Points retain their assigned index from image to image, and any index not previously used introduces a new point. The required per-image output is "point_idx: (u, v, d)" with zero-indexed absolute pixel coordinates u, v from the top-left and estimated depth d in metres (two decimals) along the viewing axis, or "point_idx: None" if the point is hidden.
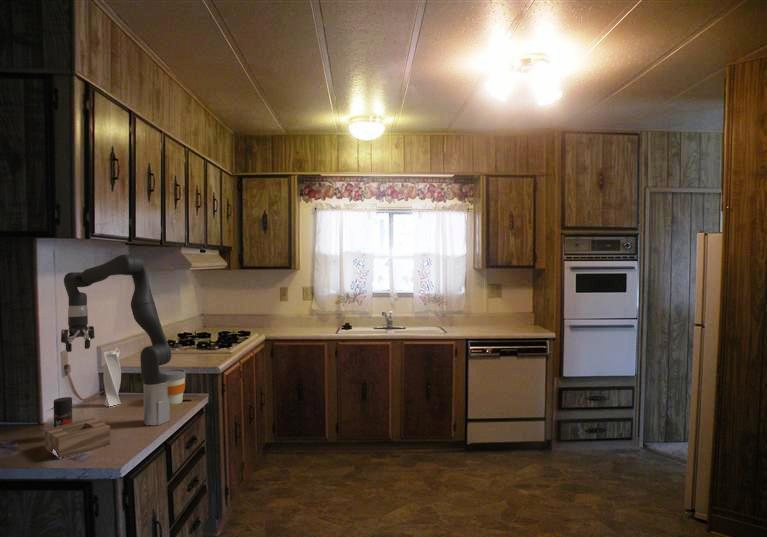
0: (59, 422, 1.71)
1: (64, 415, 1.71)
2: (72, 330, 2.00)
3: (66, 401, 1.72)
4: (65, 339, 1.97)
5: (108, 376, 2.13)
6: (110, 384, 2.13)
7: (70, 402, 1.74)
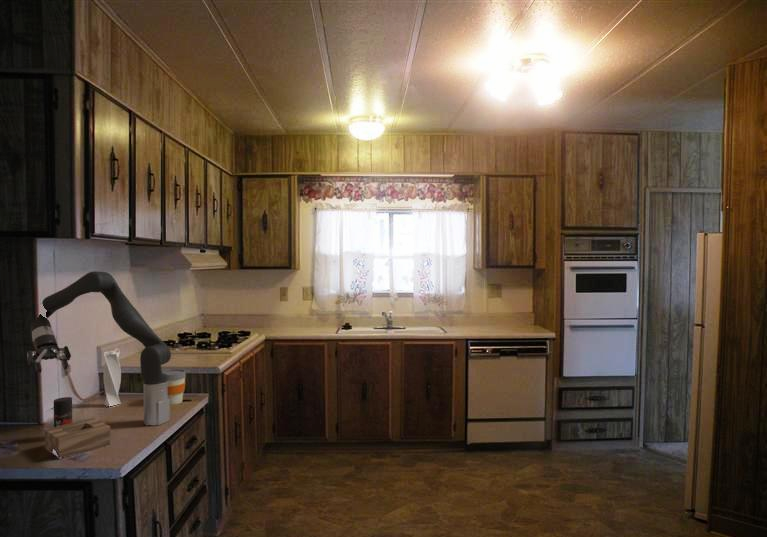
0: (59, 422, 1.71)
1: (64, 415, 1.71)
2: (38, 350, 1.82)
3: (66, 401, 1.72)
4: (30, 359, 1.78)
5: (108, 376, 2.13)
6: (110, 384, 2.13)
7: (70, 402, 1.74)
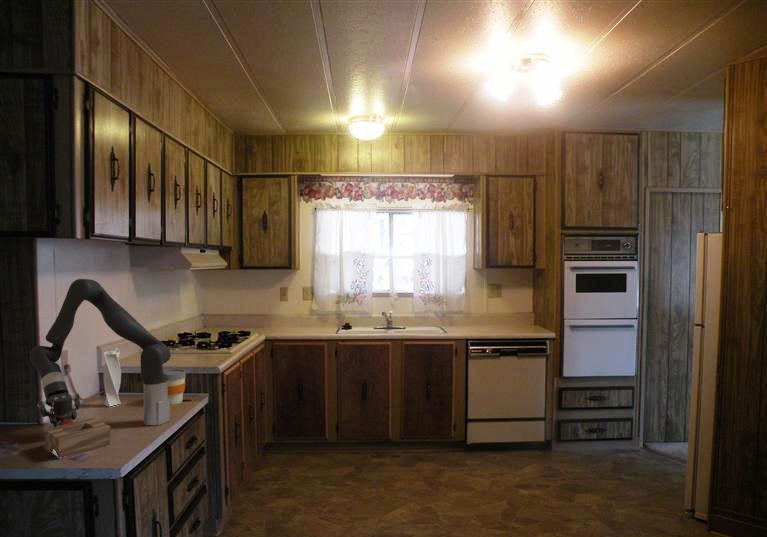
0: (59, 422, 1.71)
1: (64, 414, 1.71)
2: (48, 400, 1.74)
3: (66, 401, 1.72)
4: (43, 410, 1.70)
5: (108, 376, 2.13)
6: (110, 384, 2.13)
7: (70, 402, 1.74)
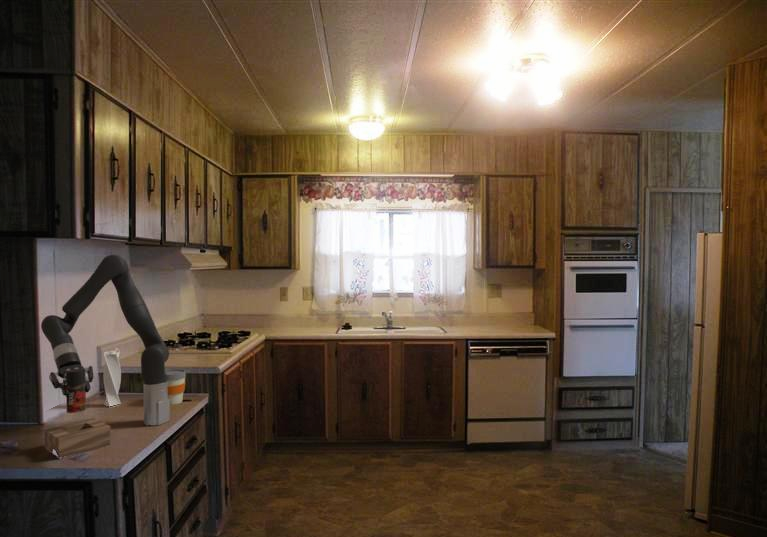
0: (72, 394, 1.62)
1: (77, 386, 1.62)
2: (60, 371, 1.65)
3: (79, 372, 1.63)
4: (55, 381, 1.61)
5: (108, 376, 2.13)
6: (110, 384, 2.13)
7: (83, 373, 1.65)
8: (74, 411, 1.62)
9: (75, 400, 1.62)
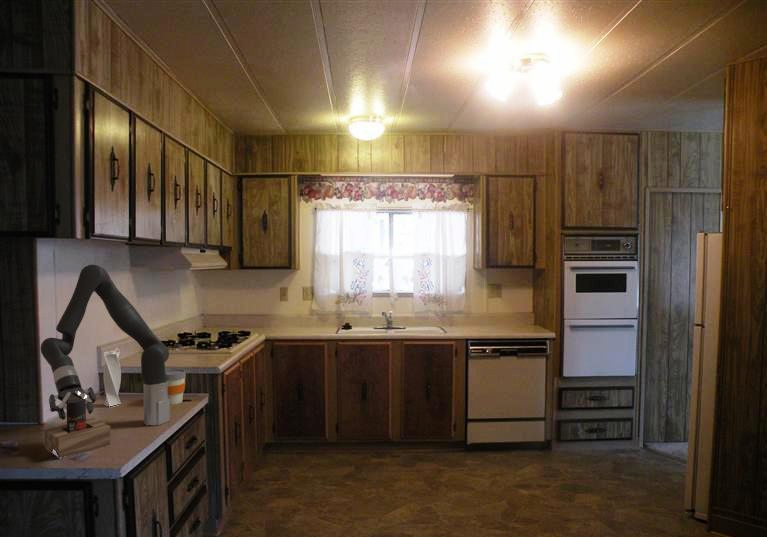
0: (73, 425, 1.61)
1: (78, 417, 1.62)
2: (61, 394, 1.64)
3: (80, 402, 1.62)
4: (52, 404, 1.60)
5: (108, 376, 2.13)
6: (110, 384, 2.13)
7: (84, 403, 1.64)
8: None
9: None
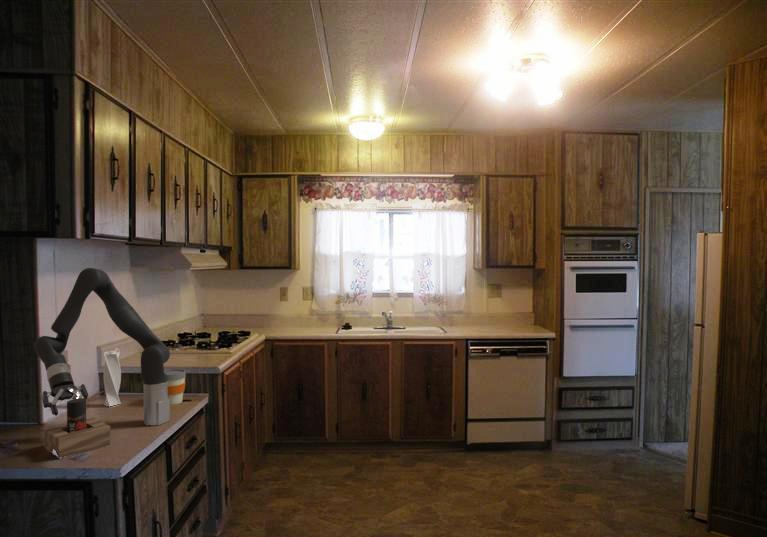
0: (73, 424, 1.61)
1: (78, 417, 1.62)
2: (53, 391, 1.69)
3: (80, 402, 1.62)
4: (45, 401, 1.65)
5: (108, 376, 2.13)
6: (110, 384, 2.13)
7: (84, 403, 1.64)
8: None
9: None
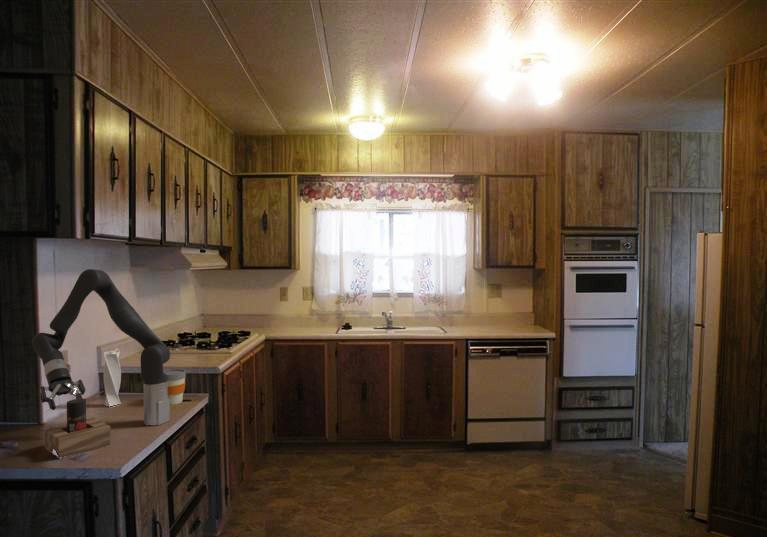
0: (73, 425, 1.61)
1: (78, 417, 1.62)
2: (51, 386, 1.72)
3: (80, 403, 1.62)
4: (43, 395, 1.68)
5: (108, 376, 2.13)
6: (110, 384, 2.13)
7: (84, 404, 1.64)
8: None
9: None
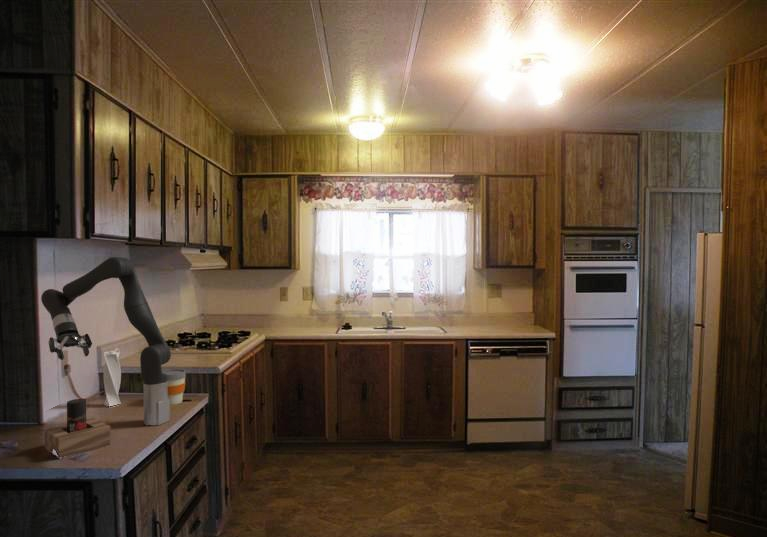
0: (73, 425, 1.61)
1: (78, 417, 1.62)
2: (59, 338, 1.80)
3: (80, 403, 1.62)
4: (52, 346, 1.76)
5: (108, 376, 2.13)
6: (110, 384, 2.13)
7: (84, 404, 1.64)
8: None
9: None
